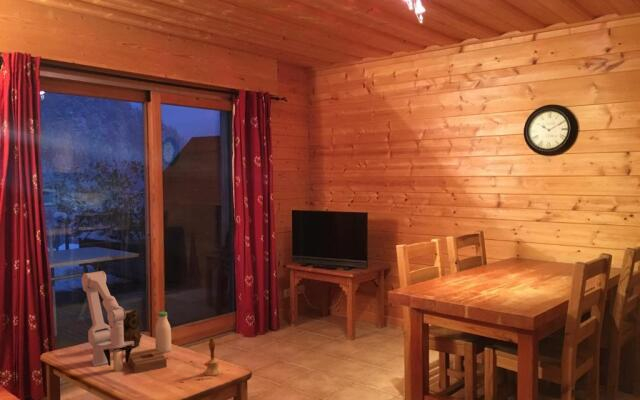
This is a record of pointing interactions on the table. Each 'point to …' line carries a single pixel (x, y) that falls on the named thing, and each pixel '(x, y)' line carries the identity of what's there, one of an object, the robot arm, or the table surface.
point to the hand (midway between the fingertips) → (118, 363)
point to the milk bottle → (163, 333)
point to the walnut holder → (147, 360)
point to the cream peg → (117, 360)
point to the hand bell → (212, 362)
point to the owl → (131, 329)
